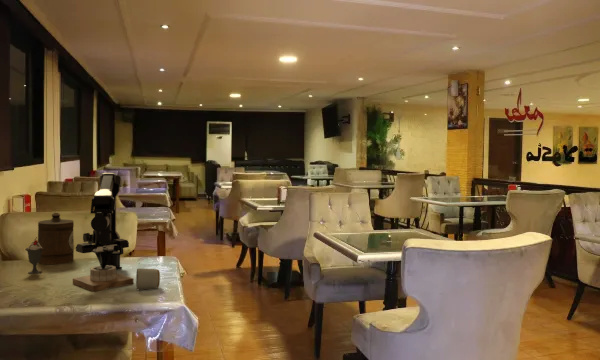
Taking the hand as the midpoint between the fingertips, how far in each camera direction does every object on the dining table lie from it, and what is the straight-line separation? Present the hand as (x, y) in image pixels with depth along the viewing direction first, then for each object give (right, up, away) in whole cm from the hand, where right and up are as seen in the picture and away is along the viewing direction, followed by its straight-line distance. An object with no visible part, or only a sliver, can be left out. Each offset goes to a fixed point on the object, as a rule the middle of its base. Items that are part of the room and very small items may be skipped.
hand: (103, 268), depth 198 cm
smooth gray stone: (0, -4, 0) cm, 4 cm away
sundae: (-34, -5, +15) cm, 37 cm away
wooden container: (-36, -3, +38) cm, 53 cm away
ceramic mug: (+18, -7, -4) cm, 20 cm away
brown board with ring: (0, -6, 0) cm, 6 cm away
